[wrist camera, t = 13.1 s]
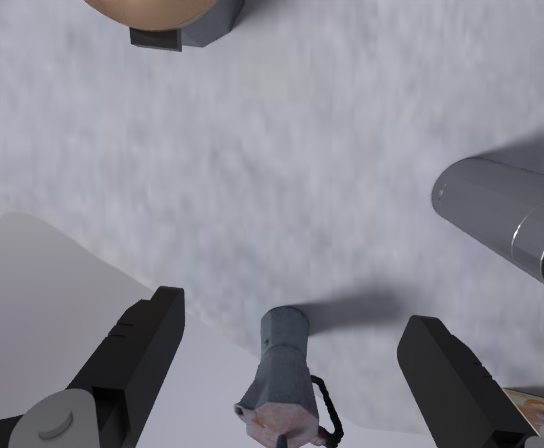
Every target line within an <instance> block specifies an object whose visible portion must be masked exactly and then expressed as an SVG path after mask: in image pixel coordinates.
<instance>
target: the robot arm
mask: <svg viewBox="0 0 544 448" xmlns="http://www.w3.org/2000/svg"><path fill="white" fill-rule="evenodd" d="M432 205H433V207H434V209H435V211H436V212H437V213H438V214H439V215H440V216H441V217H443V218H444V219H446V220H447V221H449V222H450V223H452V224H453V225H455V226H456V227H458V228H459V229H461V230H462V231H464V232H465V233H467V234H468V235H470V236H471V237H473V238H474V239H476V240H477V241H479V242H480V243H482V244H483V245H485V246H486V247H488V248H489V249H491V250H492V251H494V252H495V253H497V254H499V255H500V256H502V257H503V258H505V259H506V260H508V261H509V262H511V263H512V264H514V265H515V266H517V267H518V268H520V269H521V270H523V271H525V272H526V273H528V274H529V275H531V276H532V277H534V278H535V279H537V280H538V281H540V282H541V283H543V284H544V174H540V173H536V172H532V171H528V170H524V169H520V168H516V167H512V166H508V165H505V164H501V163H497V162H493V161H489V160H485V159H480V158H470V159H465V160H462V161H459V162H457V163H455V164H453V165H452V166H450V167H449V168H447V169H446V170H445V171H444V172H443V173H442V174H441V175H440V177H439V178H438V180H437V181H436V183H435V185H434V187H433V191H432ZM184 327H185V300H184V289H183V288H176V287H167V286H160V287H159V288H158V289H157V291H156V292H155V294H154V295H153V296H152V298H151V299H150V300H142V299H141V300H140V301H138V302H137V303H136V304H134V305H133V306H131V307H130V308H128V309H127V310H126V311H125V313H124V314H123V315H122V316H121V318H120V319H119V320H118V322H117V324H116V325H115V326H114V327H113V328H112V329H111V331H110V332H109V333H108V337H105V339H104V340H103V341H102V343H101V344H100V345H99V346H98V348H97V349H96V350H95V352H94V353H93V354H92V356H91V357H90V358H89V359H88V361H87V362H86V363H85V365H84V366H83V367H82V369H81V370H80V371H79V373H78V374H77V375H76V376H75V378H74V379H73V380H72V382H71V383H70V384H69V385H68V387H67V388H66V389H65V390H63V391H60V392H57V393H54V394H52V395H50V396H48V397H46V398H45V399H43V400H41V401H40V402H38V403H37V404H35V405H34V406H33V407H32V408H31V409H30V410H28V411H27V412H26V413H25V414H23V415H19V416H16V417H11V418H7V419H1V420H0V448H135V447H136V445H137V442H138V440H139V437H140V435H141V433H142V431H143V428H144V426H145V423H146V421H147V419H148V417H149V414H150V412H151V410H152V407H153V405H154V402H155V400H156V398H157V396H158V393H159V391H160V388H161V386H162V384H163V382H164V379H165V377H166V374H167V372H168V370H169V367H170V365H171V363H172V360H173V358H174V356H175V353H176V351H177V349H178V346H179V344H180V341H181V339H182V336H183V332H184ZM397 359H398V363H399V366H400V368H401V370H402V372H403V374H404V376H405V379H406V381H407V383H408V385H409V387H410V389H411V392H412V394H413V396H414V398H415V400H416V402H417V404H418V407H419V409H420V411H421V413H422V415H423V417H424V419H425V422H426V424H427V426H428V428H429V430H430V432H431V435H432V437H433V438H434V441H435V443H436V445H437V447H438V448H544V438H543V437H540V436H539V435H538V434H537V433H536V431H535V430H534V429H533V428H532V426H531V425H530V424H529V423H528V421H527V420H526V419H525V418H524V416H523V415H522V414H521V413H520V411H519V410H518V409H517V407H516V406H515V405H514V404H513V402H512V401H511V400H510V399H509V397H508V396H507V395H506V394H505V392H504V391H503V390H502V389H501V387H500V386H499V385H498V383H497V382H496V381H495V380H493V379H492V376H491V375H490V373H489V372H488V371H487V370H486V368H485V367H482V363H481V362H480V361H479V359H478V358H477V357H476V356H475V354H474V353H473V352H472V351H471V349H470V348H469V347H467V346H466V345H465V344H464V343H463V342H461V341H460V340H459V339H458V338H457V337H455V336H454V335H451V334H450V332H449V331H448V330H447V328H446V327H445V326H444V324H443V323H442V322H441V321H440V320H439V319H438V318H436V317H427V316H418V315H413V316H411V317H410V319H409V321H408V323H407V326H406V328H405V330H404V333H403V335H402V338H401V340H400V342H399V345H398V348H397Z"/></svg>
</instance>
